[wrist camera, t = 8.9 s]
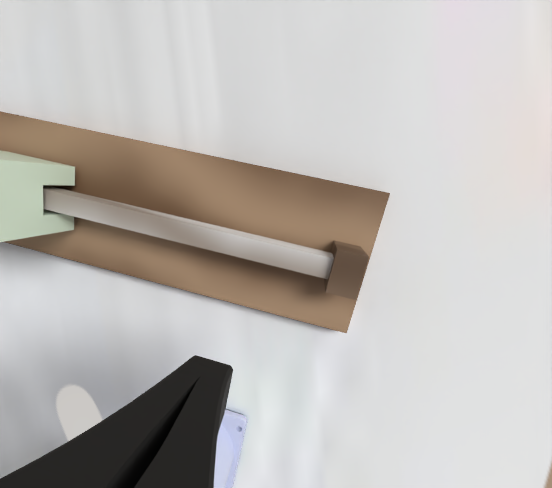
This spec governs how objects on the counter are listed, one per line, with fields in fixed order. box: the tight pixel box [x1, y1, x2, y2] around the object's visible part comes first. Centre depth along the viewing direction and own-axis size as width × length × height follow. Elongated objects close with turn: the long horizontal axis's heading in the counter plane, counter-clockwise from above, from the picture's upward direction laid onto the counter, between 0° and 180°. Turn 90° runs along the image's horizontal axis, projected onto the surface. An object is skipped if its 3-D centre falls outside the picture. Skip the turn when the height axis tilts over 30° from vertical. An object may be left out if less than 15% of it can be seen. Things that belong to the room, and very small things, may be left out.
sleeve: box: [0, 151, 75, 242], centre depth 15 cm, size 4×5×4 cm
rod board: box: [0, 112, 390, 333], centre depth 16 cm, size 9×28×4 cm, turn 78°
